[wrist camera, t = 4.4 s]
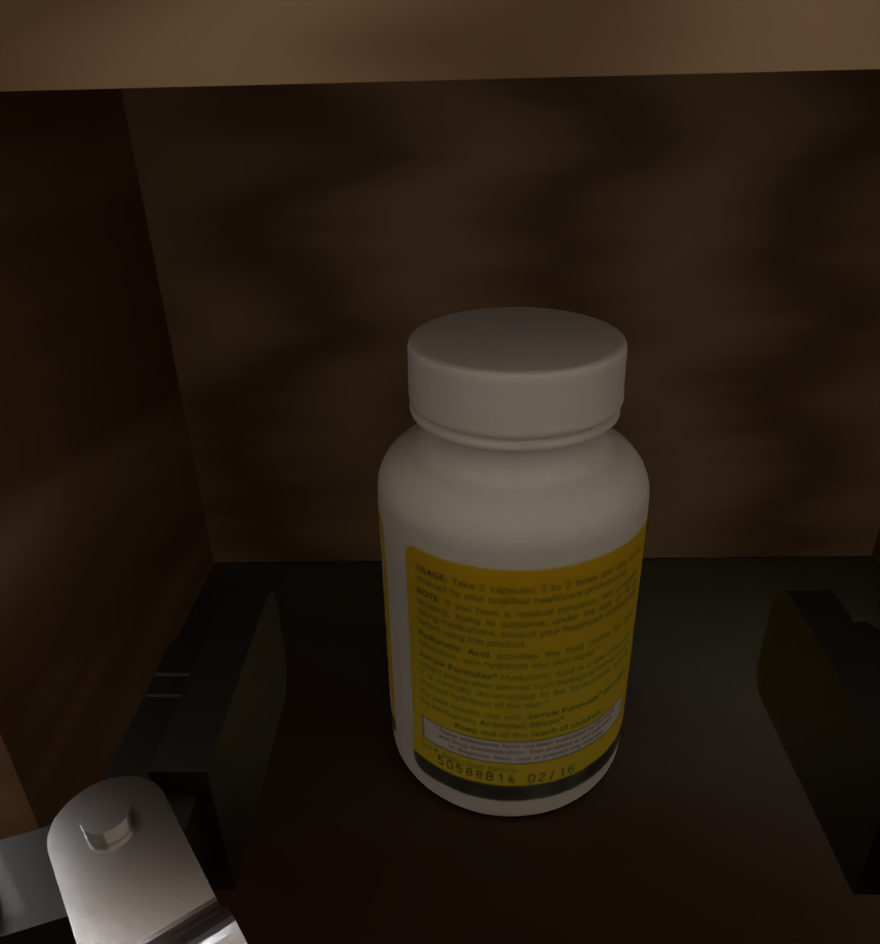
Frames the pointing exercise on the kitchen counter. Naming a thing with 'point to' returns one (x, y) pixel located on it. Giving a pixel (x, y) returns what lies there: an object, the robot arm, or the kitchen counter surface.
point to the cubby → (400, 291)
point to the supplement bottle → (511, 557)
